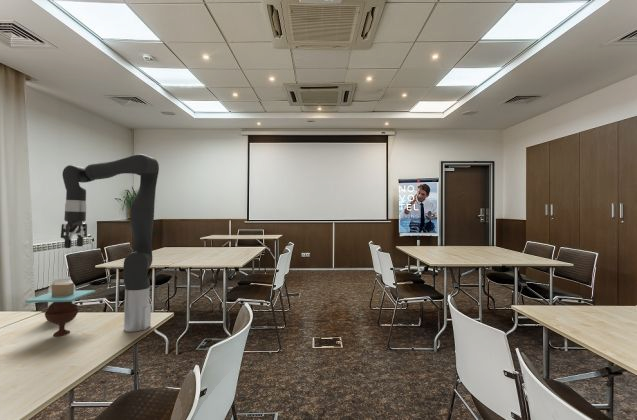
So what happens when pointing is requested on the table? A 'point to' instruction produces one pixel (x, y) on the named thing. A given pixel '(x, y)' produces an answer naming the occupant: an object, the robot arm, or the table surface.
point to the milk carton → (61, 280)
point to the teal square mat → (61, 294)
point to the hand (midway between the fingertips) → (73, 247)
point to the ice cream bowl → (61, 315)
